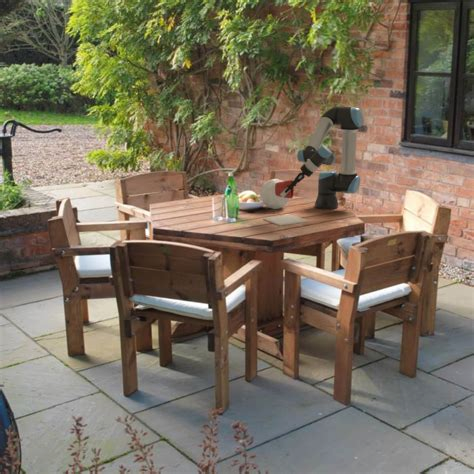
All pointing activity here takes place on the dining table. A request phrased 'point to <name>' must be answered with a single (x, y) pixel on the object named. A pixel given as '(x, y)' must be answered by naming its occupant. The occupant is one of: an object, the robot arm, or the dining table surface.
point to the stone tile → (285, 220)
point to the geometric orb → (272, 195)
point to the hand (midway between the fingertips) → (283, 194)
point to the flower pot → (282, 186)
